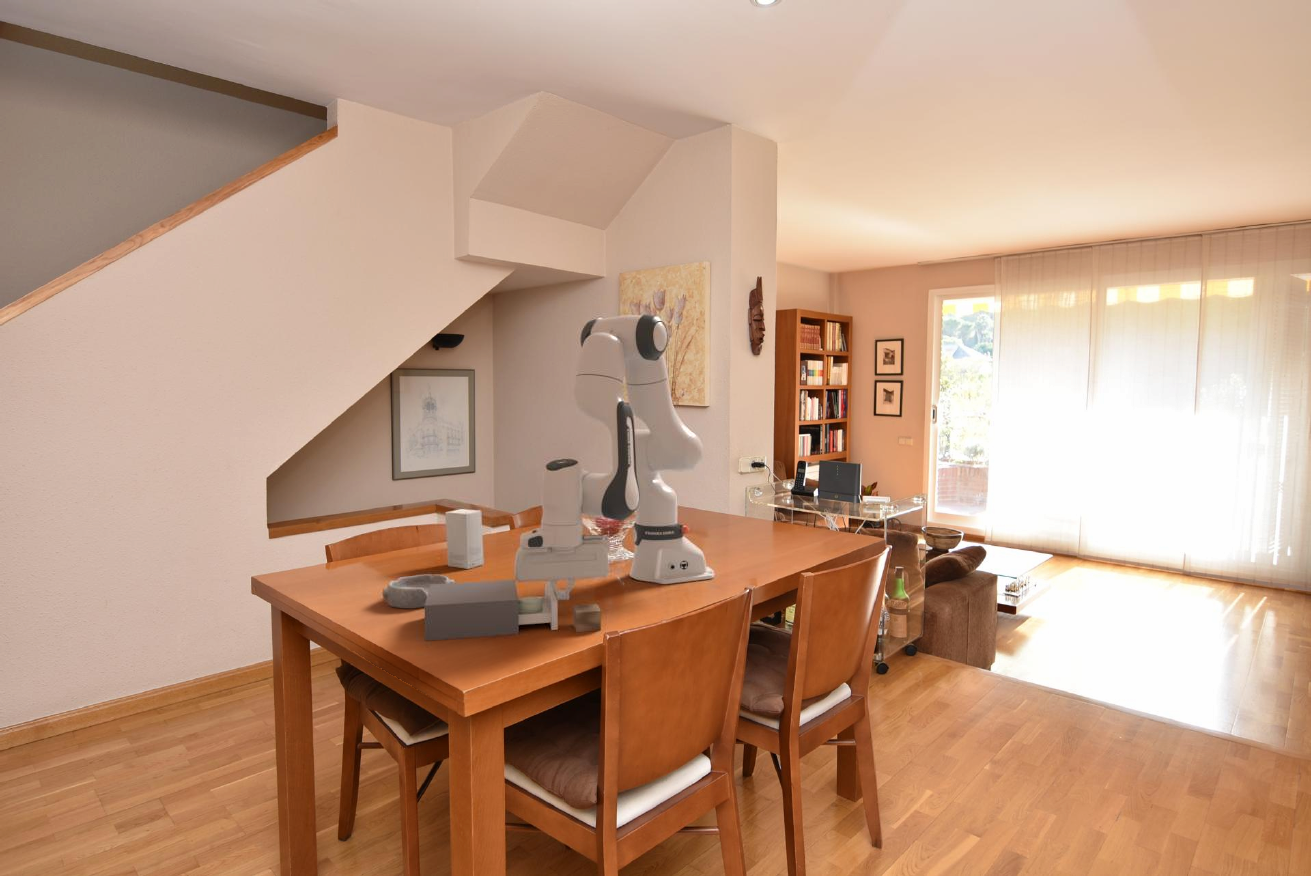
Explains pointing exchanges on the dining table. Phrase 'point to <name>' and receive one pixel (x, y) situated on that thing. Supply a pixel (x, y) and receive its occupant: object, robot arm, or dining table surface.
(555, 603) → the white drawer
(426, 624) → the grey drawer cabinet
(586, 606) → the walnut block
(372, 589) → the dining table surface
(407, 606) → the dish
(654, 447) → the robot arm
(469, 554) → the skincare box
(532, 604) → the pale green disc
